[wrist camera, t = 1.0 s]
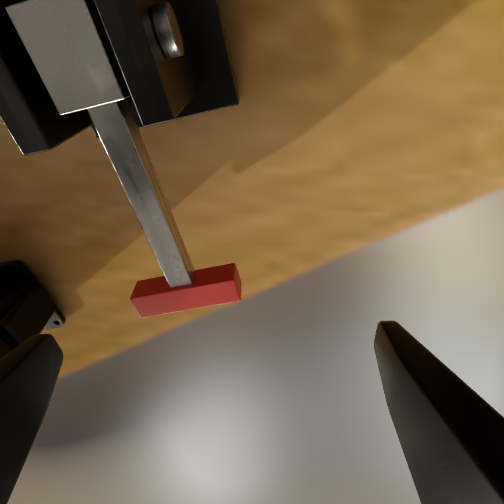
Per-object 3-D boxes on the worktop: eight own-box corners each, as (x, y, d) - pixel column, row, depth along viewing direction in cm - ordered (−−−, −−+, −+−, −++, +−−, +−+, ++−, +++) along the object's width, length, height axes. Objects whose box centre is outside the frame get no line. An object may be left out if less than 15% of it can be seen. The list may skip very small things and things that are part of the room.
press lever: (241, 276, 17) (240, 309, 15) (150, 293, 17) (137, 326, 15) (152, -20, 10) (129, -32, 8) (9, 22, 11) (-45, 20, 9)
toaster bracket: (239, 100, 18) (234, 152, 10) (104, 133, 19) (6, 203, 11) (201, -72, 14) (147, -194, 6) (34, -21, 15) (-189, -75, 7)
